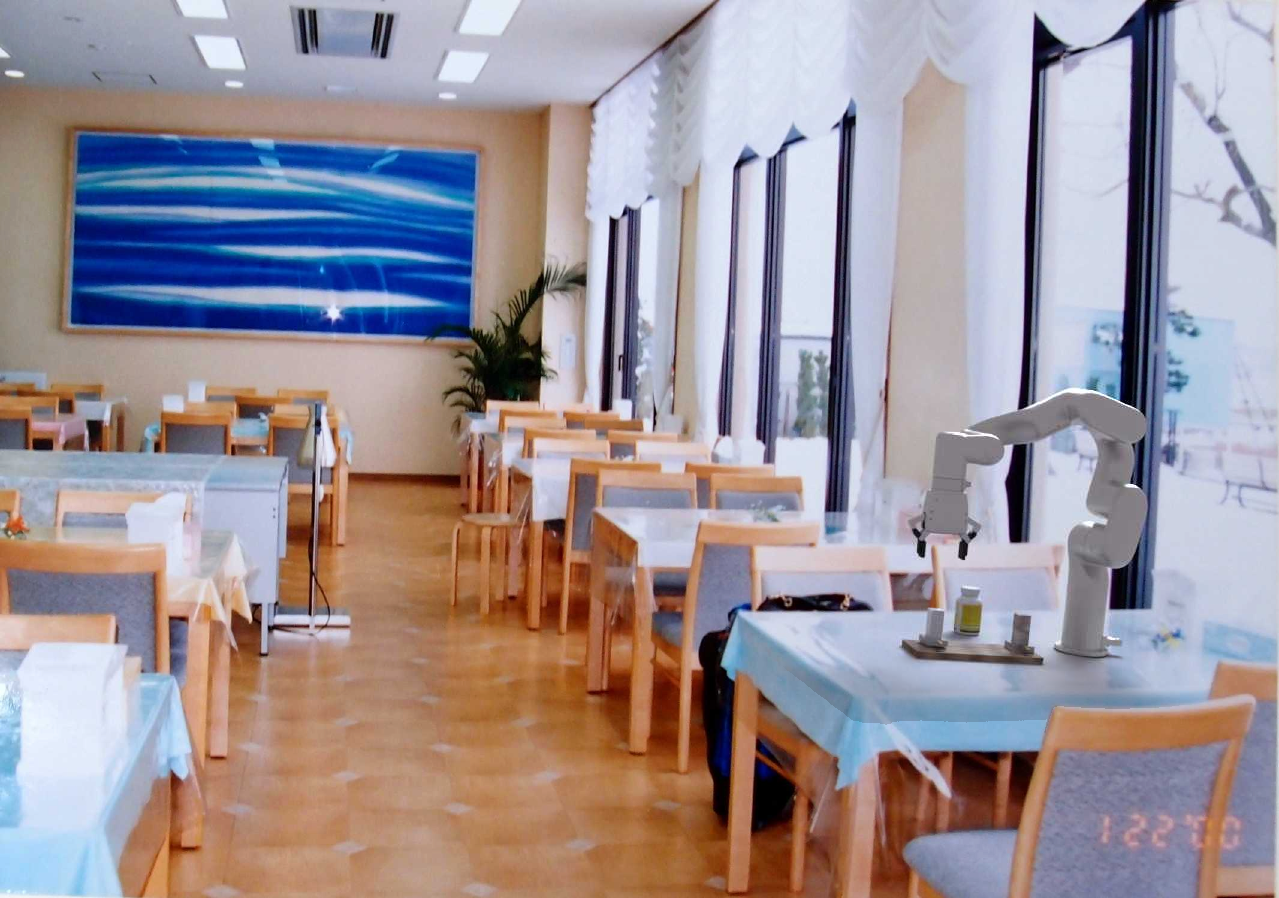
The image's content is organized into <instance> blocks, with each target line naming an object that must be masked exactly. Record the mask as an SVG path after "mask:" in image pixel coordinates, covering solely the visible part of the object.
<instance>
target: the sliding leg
mask: <svg viewBox="0 0 1279 898" xmlns="http://www.w3.org/2000/svg"><path fill="white" fill-rule="evenodd" d="M944 620H945V610H943V609H942V608H941V607H939V608H938V607H927V616H926V626H925V633H919V634H918V635H919V636H918V640H919V641H921V642H922V643H923V644H925V645H926V646H937V647H947V646H948V642H949V640H948V639H946V638H944V636H943V630H944Z"/></svg>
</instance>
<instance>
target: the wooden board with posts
mask: <svg viewBox="0 0 1279 898" xmlns="http://www.w3.org/2000/svg"><path fill="white" fill-rule="evenodd" d="M1031 621H1032V615H1030V614H1028V613H1027V612H1014V614H1013V621H1012V631H1011V639H1005V640H1004V644H997V643H980V642H961V641H960V642H958V641H948V646H947V647H937V646H926V645H925V644H923V643H922V642H921V641H919V639H906V638H905V639H903V638H902V640H901V646H902V647H903V648H904V649H905V650H906V651H907V652H909V653H910V654H911V655H912V656H913V657H915V658H916V659H927V660H928V659H929V660H930V659H931V660H946V661H947V660H948V661H949V660H950V661H970V662H973V661H974V662H985V663H987V662H988V663H990V662H992V663H1007V664H1008V663H1010V664H1027V665H1028V664H1029V665H1044V658H1045V657H1043V656H1041V655H1040V654H1038V653H1036V652H1035V648H1036V647H1035V646H1034V645H1033V644H1031V643H1029V642H1030V633H1031V632H1030V631H1031V624H1032V623H1031Z"/></svg>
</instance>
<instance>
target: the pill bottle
mask: <svg viewBox="0 0 1279 898" xmlns="http://www.w3.org/2000/svg"><path fill="white" fill-rule="evenodd" d="M960 593H961V595H959V596H958V597H956V600H955V609H954V619H953V620H954V621H953V631H954V633H956V634H959V635H962V636H963V635H964V636H977V635H979V634H981V633H980V632H981V623H982V614H983V613H982V611H983V599H981V598H980V597H979V595H980V593H981V588H979V587H977V586H972V585H962V586H960Z"/></svg>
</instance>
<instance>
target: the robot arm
mask: <svg viewBox="0 0 1279 898" xmlns="http://www.w3.org/2000/svg"><path fill="white" fill-rule="evenodd" d="M1073 426H1081V427H1082V426H1083V427H1086V429H1087V431H1088V432H1089V434H1090V436H1091V437H1092V438H1093V441H1094V442H1095V445H1096V446H1095V447H1096V450H1097V460H1096V464H1095V468H1094V472H1093V475H1092V479H1091V481H1090V485H1089V487H1088V491H1087V495H1086V499H1085V500H1086V501H1085V505H1086V506H1085V507H1086V509H1087V511H1088V512H1089V513H1090V514H1091V515H1093V516H1095V517H1098V518H1100V519H1104V520H1106V524H1104V523H1100V522H1095V521H1082V522H1080V523H1078V524H1076V525H1075V526H1073V527H1072V529H1071V530H1070V531H1069V534H1068V536H1067V555H1068V556H1067V557H1068V576H1067V584H1066V591H1065V592H1066V593H1065V601H1064V602H1065V604H1064V612H1063V622H1062V629H1061V631H1062V632H1061V639H1060V640H1056V641H1055V642H1053V643H1054V644H1053V645H1054V646H1053V647H1054V649H1055V650H1057V651H1059V652H1062V653H1066V654H1069V655H1075V656H1081V657H1091V658H1093V657H1094V658H1098V657H1100V658H1101V657H1106V656H1108V655H1109V649H1108V648H1109V647H1110V646H1112V647H1122V645H1123V639H1122V638H1116V637H1115V638H1113V637H1112V636H1108V635H1105V634H1104V631H1105V623H1106V615H1107V614H1106V612H1107V605H1108V595H1109V585H1110V577H1109V569H1121V568H1123V567H1125V566H1127V565H1128V564H1129V563H1130V562H1131V561H1132V559H1133V557H1134V555H1135V553H1136V551H1137V547H1138V544H1139V540H1140V539H1141V535H1142V531H1143V528H1144V524H1145V522H1146V518H1147V514H1148V507H1149V506H1148V500H1147V495H1146V494H1145V492H1144V491H1143V489H1141V488H1140V487H1138V486H1137V485H1135V484H1132V483H1131V479H1132V475H1133V472H1134V467H1135V451H1134V447H1133V445H1132V444H1135V443H1137V442H1140V441H1141V440H1142V439H1143V437H1144V436H1145V434H1146V433H1147V429H1148V428H1147V427H1148V423H1147V419H1146V417H1145V415H1144V414H1143V412H1141V411H1140V410H1139V409H1138V408H1135V407H1133V406H1132V405H1128V404H1125V403H1123V402H1121V401H1119V400H1117V399H1114V398H1113V397H1111V396H1108V395H1105V394H1103V393H1101V392H1098V391H1095V390H1089V389H1081V388H1067V389H1064V390H1061V391H1059V392H1057V393H1055V394H1053V395H1051V396H1048V397H1046V398H1044V399H1042V400H1039V401H1037V402H1035V403H1033V404H1031V405H1029V406H1026V407H1024V408H1022V409H1017V410H1014V411H1009V412H1007V413H1004V414H1000V415H996V416H993V417H990V418H987V419H984V420H981V421H979V422H977V423H975V424H973V425H970V426H968V427H965V428H964V429H961V431H958V432H957V431H940V432H938V433H937V435H936V436H935V437H936V438H935V446H934V454H933V455H934V457H933V466H932V467H933V468H932V478H931V487H930V488H928V489H927V491H926V492H925V497H924V502H923V507H922V511H921V512H922V513H921V514H919V515H917V516H915V517H912V518H909V519H908V520H907V523H908V527H909V528H910V529H909V530H910V531H911V533H912V535H913V536H915V538H916V539H917V543H916V554H917V555H918V557H919V558H921V559H925V558H926V550H927V549H926V548H927V541H926V538H927V537H928V536H929V535H930V534H939V535H955V536H956V535H958V536H959V538H960V541H959V542H958V551H957V558H958V559H960V560H961V561H965V560H966V557H968V553H969V544H970V543H971V542H972V541H973V539H975V538H976V537H977V535H978V533H979V531H980V530H981V528H982V525H981V523H978V522H977V521H975V520H973V519H972V518H971V517H969V502H968V501H969V499H968V493H967V492H966V488H967V489H968V488H971V486H972V485H971V484H972V483H971V481H968V480H967V479H966V477H967V468H968V464H970V465H971V464H973V465H978V466H981V467H991V466H994V465H997V464H998V463H999V462H1000V461H1002V459H1003V458H1004V456H1005V450H1006V449H1005V446H1009V445H1023V444H1024V445H1026V444H1031V443H1032V444H1033V443H1038V442H1041V441H1043V440H1046V439H1047V438H1050V437H1052V436H1054V435H1056V434H1058V433H1060V432H1062V431H1064V430H1067V429H1069V428H1070V427H1073ZM919 523H920V528H921V530H919V529H918V528H917V524H919ZM969 525H970V526H972V529H971V531H969V532H968V533H967V531H968V526H969ZM1108 568H1109V569H1108Z"/></svg>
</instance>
